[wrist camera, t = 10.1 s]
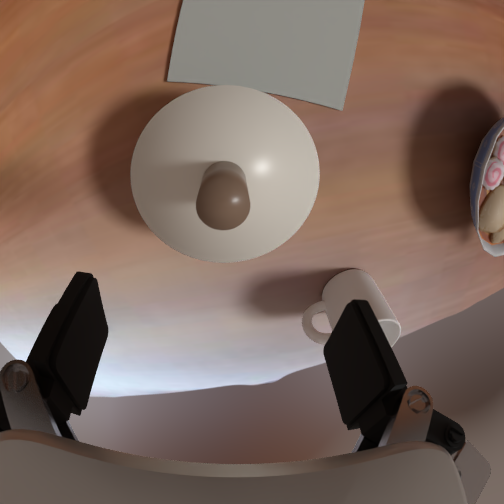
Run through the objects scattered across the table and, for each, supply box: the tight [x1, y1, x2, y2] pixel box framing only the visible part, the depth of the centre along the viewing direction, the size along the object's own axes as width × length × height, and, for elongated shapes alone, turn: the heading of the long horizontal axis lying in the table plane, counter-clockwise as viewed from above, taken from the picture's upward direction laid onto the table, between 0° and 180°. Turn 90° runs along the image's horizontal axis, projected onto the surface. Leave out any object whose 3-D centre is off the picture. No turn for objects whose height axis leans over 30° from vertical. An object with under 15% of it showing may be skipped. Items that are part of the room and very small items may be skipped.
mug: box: [302, 269, 401, 347], centre depth 35 cm, size 12×8×10 cm
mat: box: [167, 0, 365, 111], centre depth 20 cm, size 18×18×1 cm
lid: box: [130, 85, 320, 263], centre depth 21 cm, size 16×16×6 cm
